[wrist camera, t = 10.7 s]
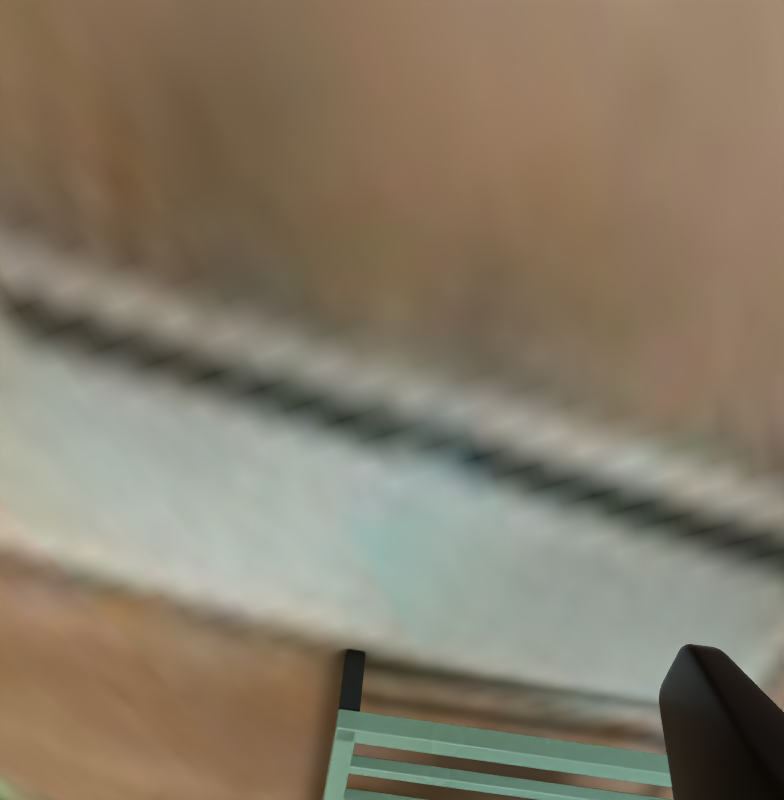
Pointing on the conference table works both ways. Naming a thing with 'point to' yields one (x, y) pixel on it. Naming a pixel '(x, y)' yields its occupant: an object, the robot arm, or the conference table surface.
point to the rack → (471, 755)
